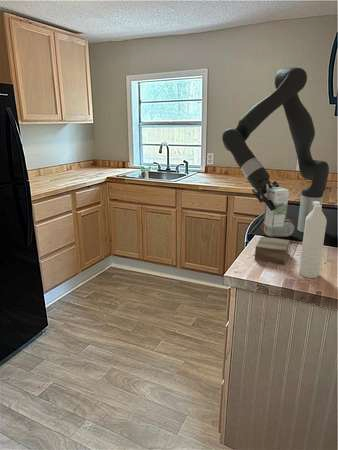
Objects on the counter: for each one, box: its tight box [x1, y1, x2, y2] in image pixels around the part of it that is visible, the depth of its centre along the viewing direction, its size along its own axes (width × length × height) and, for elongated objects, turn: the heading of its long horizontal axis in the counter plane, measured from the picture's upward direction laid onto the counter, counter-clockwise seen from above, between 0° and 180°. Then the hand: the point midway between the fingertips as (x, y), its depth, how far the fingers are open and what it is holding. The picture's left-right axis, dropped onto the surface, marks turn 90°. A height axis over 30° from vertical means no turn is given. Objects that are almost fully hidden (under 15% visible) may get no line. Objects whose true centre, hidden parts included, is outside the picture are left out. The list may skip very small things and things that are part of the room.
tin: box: [260, 218, 297, 238], centre depth 147 cm, size 15×3×8 cm, turn 84°
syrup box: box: [263, 186, 290, 228], centre depth 121 cm, size 6×6×14 cm
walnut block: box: [254, 236, 290, 266], centre depth 127 cm, size 11×11×6 cm
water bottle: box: [298, 201, 328, 279], centre depth 111 cm, size 9×6×25 cm
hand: (279, 207), depth 120 cm, fingers closed on syrup box, 7 cm apart
